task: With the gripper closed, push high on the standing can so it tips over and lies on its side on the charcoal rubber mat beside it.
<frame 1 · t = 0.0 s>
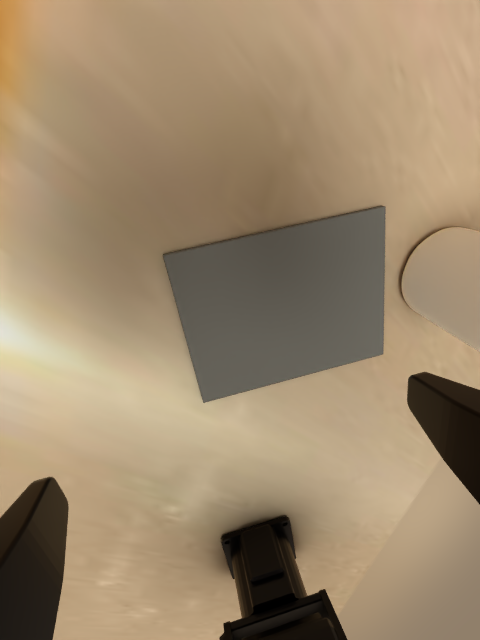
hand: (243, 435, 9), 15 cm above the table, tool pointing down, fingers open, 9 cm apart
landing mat: (286, 309, 24), on the table
can: (437, 270, 26), on the table
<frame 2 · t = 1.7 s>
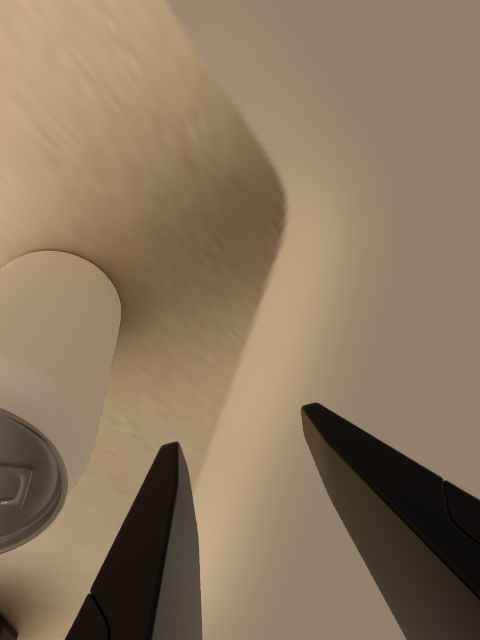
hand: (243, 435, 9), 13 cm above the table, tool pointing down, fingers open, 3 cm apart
can: (61, 305, 20), on the table
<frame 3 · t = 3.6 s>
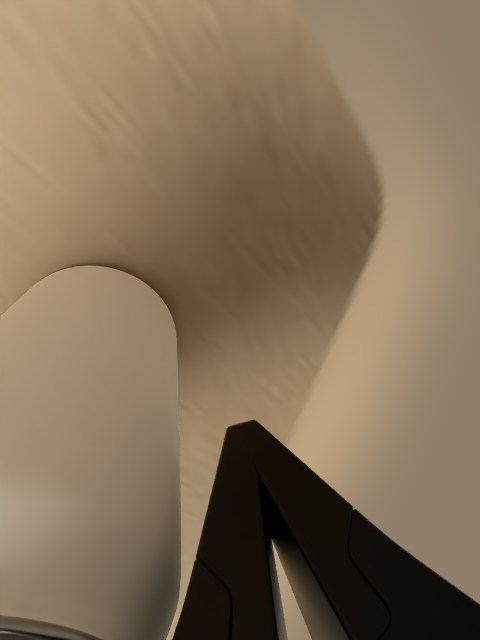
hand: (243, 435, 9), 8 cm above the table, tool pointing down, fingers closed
can: (101, 332, 16), on the table, touching gripper
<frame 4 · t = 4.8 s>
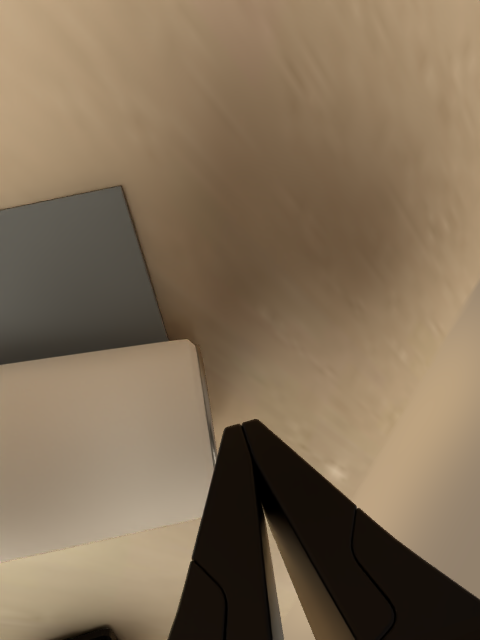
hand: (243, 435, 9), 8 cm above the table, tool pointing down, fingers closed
can: (215, 418, 14), point 4 cm above the table, touching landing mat
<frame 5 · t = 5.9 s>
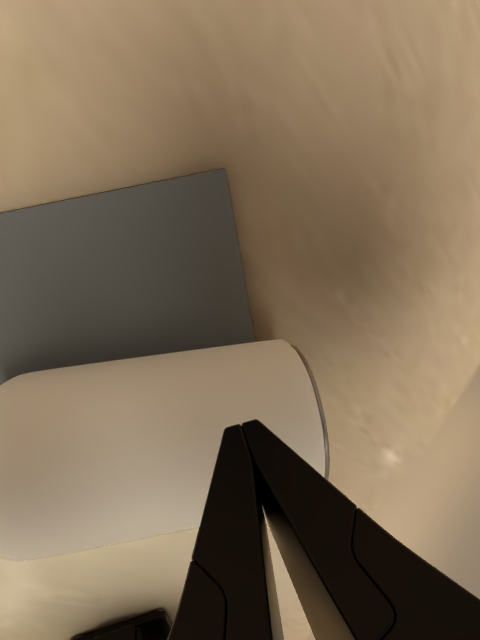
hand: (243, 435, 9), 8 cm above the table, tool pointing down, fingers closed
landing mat: (89, 337, 15), on the table
can: (306, 414, 15), point 4 cm above the table, touching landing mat
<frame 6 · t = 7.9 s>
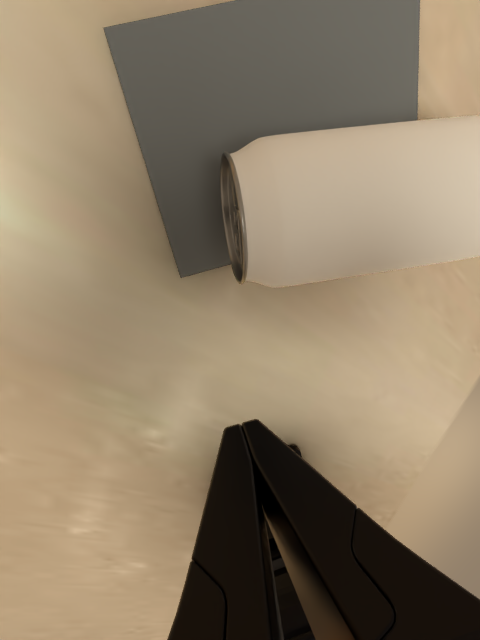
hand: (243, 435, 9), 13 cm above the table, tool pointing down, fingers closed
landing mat: (284, 137, 18), on the table
can: (479, 189, 17), point 4 cm above the table, touching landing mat
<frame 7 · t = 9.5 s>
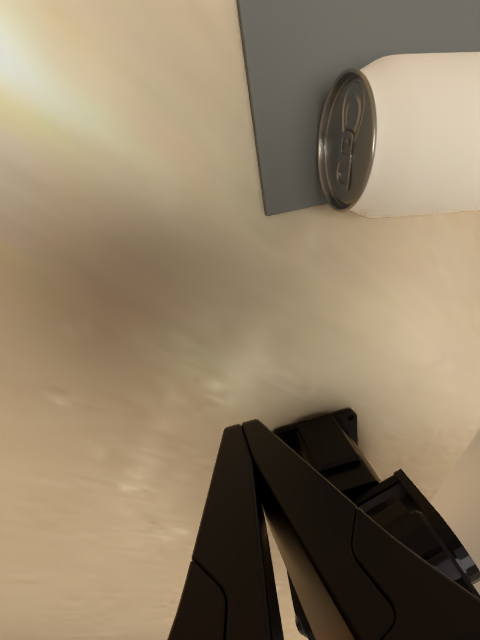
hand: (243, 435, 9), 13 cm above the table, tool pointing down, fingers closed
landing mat: (383, 75, 18), on the table
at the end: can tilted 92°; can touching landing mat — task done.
